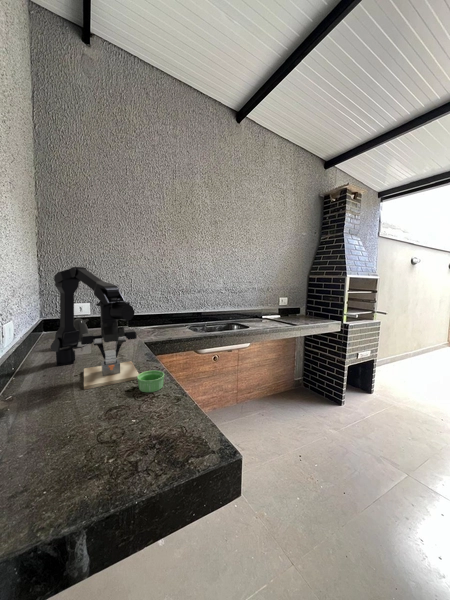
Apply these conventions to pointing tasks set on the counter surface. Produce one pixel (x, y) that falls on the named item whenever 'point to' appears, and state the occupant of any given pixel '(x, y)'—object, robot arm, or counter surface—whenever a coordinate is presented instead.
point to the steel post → (110, 357)
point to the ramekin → (150, 381)
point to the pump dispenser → (81, 329)
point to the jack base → (109, 374)
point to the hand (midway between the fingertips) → (110, 358)
